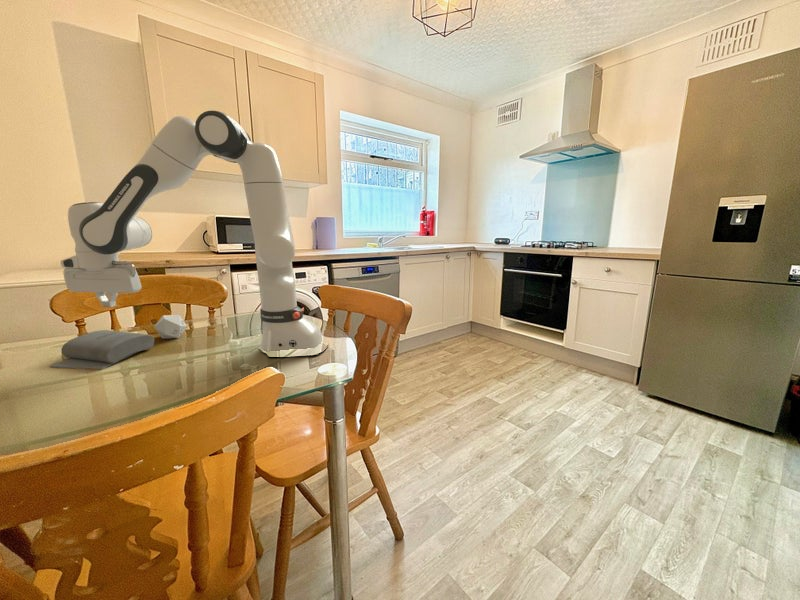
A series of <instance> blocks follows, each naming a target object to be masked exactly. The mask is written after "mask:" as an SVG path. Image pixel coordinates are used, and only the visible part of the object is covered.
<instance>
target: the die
mask: <svg viewBox="0 0 800 600" xmlns="http://www.w3.org/2000/svg"><path fill="white" fill-rule="evenodd" d="M187 327H188V326H187V323H185V321H184V319H183V318H182V317H181V316H180V314H167V315H166V314H165V315H164V314H163V315H162V316H161V317H160V318H159V320H158V321H157V322H156V323H155V325H154V326H153V328H154V330H155V331H156V333H157V334H158V335H159V336H160V337H161V339H163V340H165V339H180V337H181V336H182V334H183V332H185V330H186V328H187Z"/></svg>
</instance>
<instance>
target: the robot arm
mask: <svg viewBox="0 0 800 600" xmlns="http://www.w3.org/2000/svg"><path fill="white" fill-rule="evenodd" d="M210 155H212V156H213V157H216V158H218V159H221V160H223V161H226V162H229V163H236V164H238V166H239V168H240V170H241V174H242V180H243V184H244V185H243V186H244V191H245V197H246V203H247V204H246V205H247V209H248V215H249V220H250V227H251V231H252V235H253V241H254V252H255V253H254V254H255V262H256V271H257V277H258V289H259V297H260V298H259V299H260V309H259V310H260V311H259V312H260V323H261V325H262V334H261V335H262V336H261V344H260V348H261V349H262V350H264V351H266V352H270V351H280V350H289V349H307V348H315V347H317V346H318V345H319V344H321V342H322V340H323V339H322V338H323V336H322V335H323V334H322V330H321V329H320V326H318V325H316V324H315V323H313V322H312V321H310V320H309V319H307V317H305V316H304V311H305V308H304V307H302V308H301V307H300V306H298V304H297V302H298V301H297V289H296V280H295V276H294V269H293V261H294V258H295V256H296V247H295V242H294V236H293V231H292V225H291V221H290V217H289V212H288V206H287V198H286V193H285V186H284V185H285V184H284V178H283V173H282V170H281V165H280V162H279V159H278V155H277V153H276V151H275V149H273V148H272V147H271V146H270V145H268V144H265V143H261V142H253V141H252V140H251V137H250V135H249V134H248V133H247V132H246V130H244V128H243V127H242V125H240V124H239V122H237V121H236V120H235V119H234V118H232V117H231V116H229V115H228V114H227V113H225V112H221V111H218V110H207V111H203V112H202V113H200V115H198V117H197V118H196V121H194V120H192V119H190V118H188V117H186V116H179V115H178V116H174V117H172V118H171V119H169V120H168V122H167V123H166V124H164V126H163V127H162V128H161V129H160V130H159V132H158V133H157V134H156V136H155V137H154V138H153V141H152V142H151V144H150V145H149V146H148V148H147V150H146V151H145V152H144V154H143V155H142V157H141V158H140V159H139V161H137V163H136V164H135V165H134V166H133V167H132V168H131V169H130V170H129V171H128V172H127V174H126V175H125V176H124V177H123V178H122V179H121V181H120V182H119V183H118V184H117V186H116V187H115V188H114V189H113V191H112V192H111V194H109V196H108V198H107V199H106V200H105V201H104V203H102V202H97V201H88V202H87V201H85V202H80V203H74V204H72V205H70V207H69V208H68V210H67V221H68V226H69V230H70V231H69V232H70V236H71V237H72V239H73V241H74V244H75V246H74V247H75V248H74V251H75V252H74V253H75V255H73V256H70V257H67V258H65V259H61V260H60V265H61V267H62V268H64V269H63V273H62V274H63V279H64V282H65V286H66V289H68V290H69V291H70V292H72V293H94V296H95V297H96V298H97V300H98V301H99V302H100V304H101V307H103V308H104V307H105V308H113V307H116V306H117V302H116V300H117V298H118V296H119V294H134V293H137V292H140V291H141V290H142V288H143V287H142V283H141V279H140V277H139V274H138V272H137V271H138V270H136V266H135V265H134V264H132V263H131V262H130V261H127V260H125V261H122V260H120V258H119V252H123V251H130V250H133V249H140V248H142V247H145V246H147V245H148V244H149V243H150V242H152V241H151V240H152V238H153V231H152V228H151V226H150V224H149V223H148V222H147V221H146V220H145V219H143V218H141V217H139V216H136V215H137V214H138V212H139V211H140V210H141V208H142V207H143V206H144V204H146V203H147V202H148V200H149V199H151V198H152V197H153V196H155V195H158V194H160V193H163V192H167V191H170V190H175V189H178V188H182V186H184V185H185V184H186V183H187V182H188V181H189V180H190V178H191V177H192V176H193V174H194V173H195V171H196V170H197V168H198V166H199V165H200V162H201V161H202V160H203V159H204V158H206V156H210Z"/></svg>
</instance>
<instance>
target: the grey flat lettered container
mask: <svg viewBox="0 0 800 600" xmlns="http://www.w3.org/2000/svg"><path fill="white" fill-rule="evenodd" d="M154 344H155V337H154V336H153V335H152V334H148V333H147V334H146V333H139V332H129V331H119V330H109V329H103V330H101V329H100V330H95V331H91V332H87V333H84V334H81V335H79V336H77V337H74V338H72V339H70V340H68V341H66V342H65V343H64V344H63V345H62V346H61V349H60V350H61V354H62V355H63V357H65V358H78V359H86V360H93V361H101V362H108V363H115V362H117V363H119V362H120V361H119V360H121V359H123V358H124V357H126V356H128V355H130V354H133V353H135V352H137V353H139V352H141V351H142V352H143V351H146V350H150V349H151V348H153V346H154ZM138 351H139V352H138ZM135 354H136V353H135ZM133 355H134V354H133ZM123 360H124V359H123ZM118 361H119V362H118ZM121 361H122V360H121ZM115 364H116V363H115Z"/></svg>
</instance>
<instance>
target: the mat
mask: <svg viewBox="0 0 800 600" xmlns="http://www.w3.org/2000/svg"><path fill="white" fill-rule="evenodd" d="M139 352H140V351H138V352H135V353H133V354H130V355H128V356H126V357H124V358H123V359H121V360H119V361H118V362H115V363H108V362H101V361H93V360H86V359H78V358H70V357H67V359H64V360H62V361H58V362H57V363H54V364H53V363H52V364H51V365H49V367H50V368H58V369H59V368H61V369H84V370H85V369H87V370H89V369H90V370H104V369H106V368H108V367H110V366H112V365H114V364H116V363H117V364H118V363H119V362H121V361H123V360H125V359H127V358H129V357H131V356H134V355H135V354H137V353H139Z"/></svg>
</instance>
